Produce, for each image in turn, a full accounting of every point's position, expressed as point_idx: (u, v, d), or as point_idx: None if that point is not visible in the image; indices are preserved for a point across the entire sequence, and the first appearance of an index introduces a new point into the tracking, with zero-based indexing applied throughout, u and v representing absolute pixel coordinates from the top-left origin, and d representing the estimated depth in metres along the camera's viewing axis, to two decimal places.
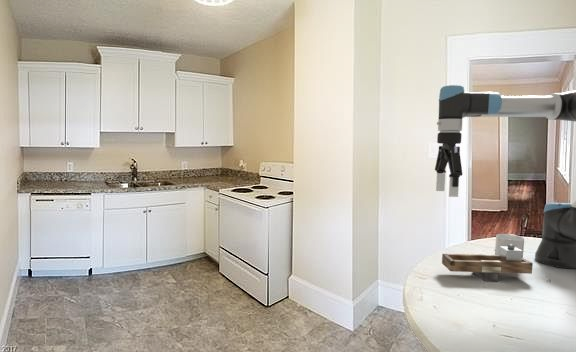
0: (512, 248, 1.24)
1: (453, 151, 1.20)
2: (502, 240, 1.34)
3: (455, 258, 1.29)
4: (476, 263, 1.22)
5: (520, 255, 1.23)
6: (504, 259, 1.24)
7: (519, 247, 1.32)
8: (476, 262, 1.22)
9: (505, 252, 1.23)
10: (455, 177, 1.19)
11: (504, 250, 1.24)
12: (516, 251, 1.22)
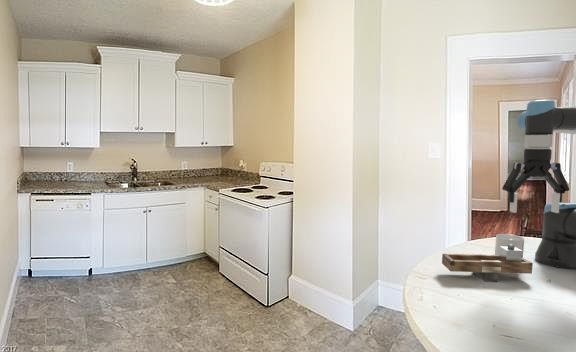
0: (512, 248, 1.24)
1: (513, 167, 1.23)
2: (502, 240, 1.34)
3: (455, 258, 1.29)
4: (476, 263, 1.22)
5: (520, 255, 1.23)
6: (504, 259, 1.24)
7: (519, 247, 1.32)
8: (476, 262, 1.22)
9: (505, 252, 1.23)
10: (508, 192, 1.23)
11: (504, 250, 1.24)
12: (516, 251, 1.22)
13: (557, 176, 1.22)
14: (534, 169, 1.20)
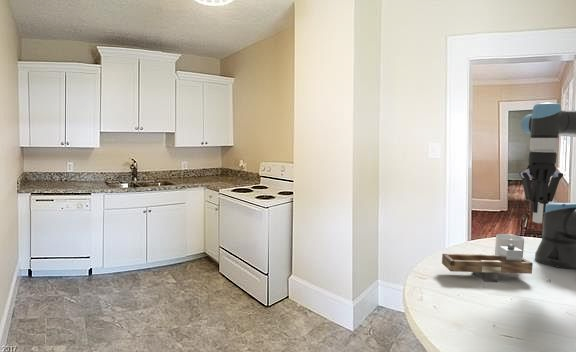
0: (512, 248, 1.24)
1: (521, 177, 1.23)
2: (502, 240, 1.34)
3: (455, 258, 1.29)
4: (476, 263, 1.22)
5: (520, 255, 1.23)
6: (504, 259, 1.24)
7: (519, 247, 1.32)
8: (476, 262, 1.22)
9: (505, 252, 1.23)
10: (531, 202, 1.23)
11: (504, 250, 1.24)
12: (516, 251, 1.22)
13: (551, 185, 1.22)
14: (540, 173, 1.20)
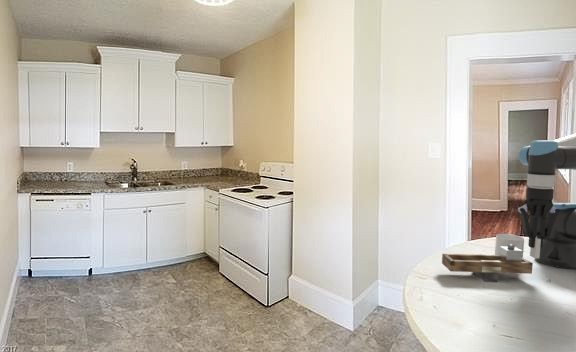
0: (512, 248, 1.24)
1: (519, 212, 1.24)
2: (502, 240, 1.34)
3: (455, 258, 1.29)
4: (476, 263, 1.22)
5: (520, 255, 1.23)
6: (504, 259, 1.24)
7: (519, 247, 1.32)
8: (476, 262, 1.22)
9: (505, 252, 1.23)
10: (529, 237, 1.24)
11: (504, 250, 1.24)
12: (516, 251, 1.22)
13: (549, 220, 1.23)
14: (537, 209, 1.21)
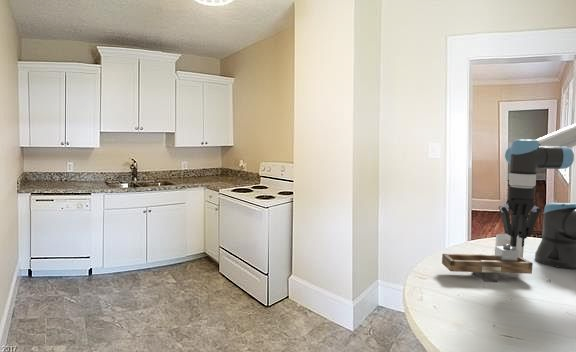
0: (508, 248, 1.24)
1: (501, 211, 1.24)
2: (502, 240, 1.34)
3: (455, 258, 1.29)
4: (476, 263, 1.22)
5: (516, 255, 1.23)
6: (500, 259, 1.24)
7: None
8: (476, 262, 1.22)
9: (501, 252, 1.23)
10: (511, 236, 1.24)
11: (500, 250, 1.24)
12: (512, 251, 1.23)
13: (530, 219, 1.23)
14: (518, 208, 1.21)
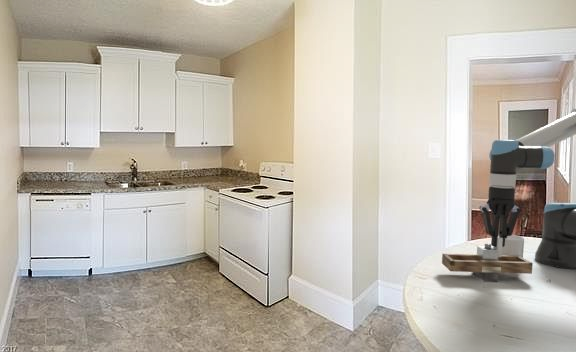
0: (489, 247, 1.24)
1: (481, 211, 1.25)
2: None
3: (455, 258, 1.29)
4: (476, 263, 1.22)
5: (496, 254, 1.23)
6: (481, 258, 1.24)
7: (519, 247, 1.32)
8: (476, 262, 1.22)
9: (482, 251, 1.23)
10: None
11: (481, 249, 1.24)
12: (492, 250, 1.23)
13: (511, 219, 1.24)
14: (499, 208, 1.22)
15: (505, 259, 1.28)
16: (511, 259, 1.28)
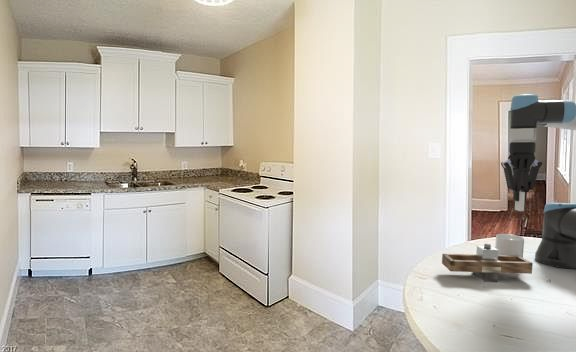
0: (488, 247, 1.24)
1: (503, 167, 1.26)
2: (502, 240, 1.34)
3: (455, 258, 1.29)
4: (476, 263, 1.22)
5: (496, 254, 1.23)
6: (480, 258, 1.24)
7: (519, 247, 1.32)
8: (476, 262, 1.22)
9: (482, 251, 1.23)
10: (513, 191, 1.27)
11: (480, 249, 1.24)
12: (492, 250, 1.23)
13: (531, 173, 1.26)
14: (520, 162, 1.24)
15: (505, 259, 1.28)
16: (511, 259, 1.28)
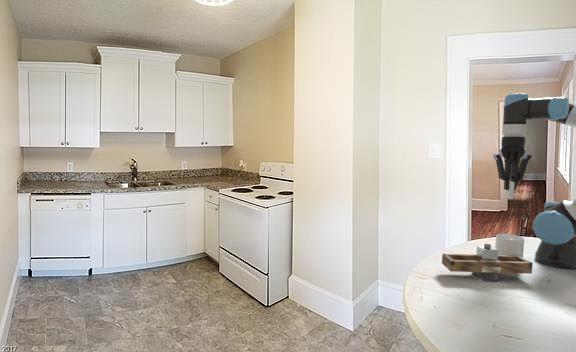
0: (488, 247, 1.24)
1: (495, 159, 1.40)
2: (502, 240, 1.34)
3: (455, 258, 1.29)
4: (476, 263, 1.22)
5: (496, 254, 1.23)
6: (480, 258, 1.24)
7: (519, 247, 1.32)
8: (476, 262, 1.22)
9: (482, 251, 1.23)
10: (504, 181, 1.40)
11: (480, 249, 1.24)
12: (492, 250, 1.23)
13: (521, 165, 1.39)
14: (511, 155, 1.37)
15: (505, 259, 1.28)
16: (511, 259, 1.28)
